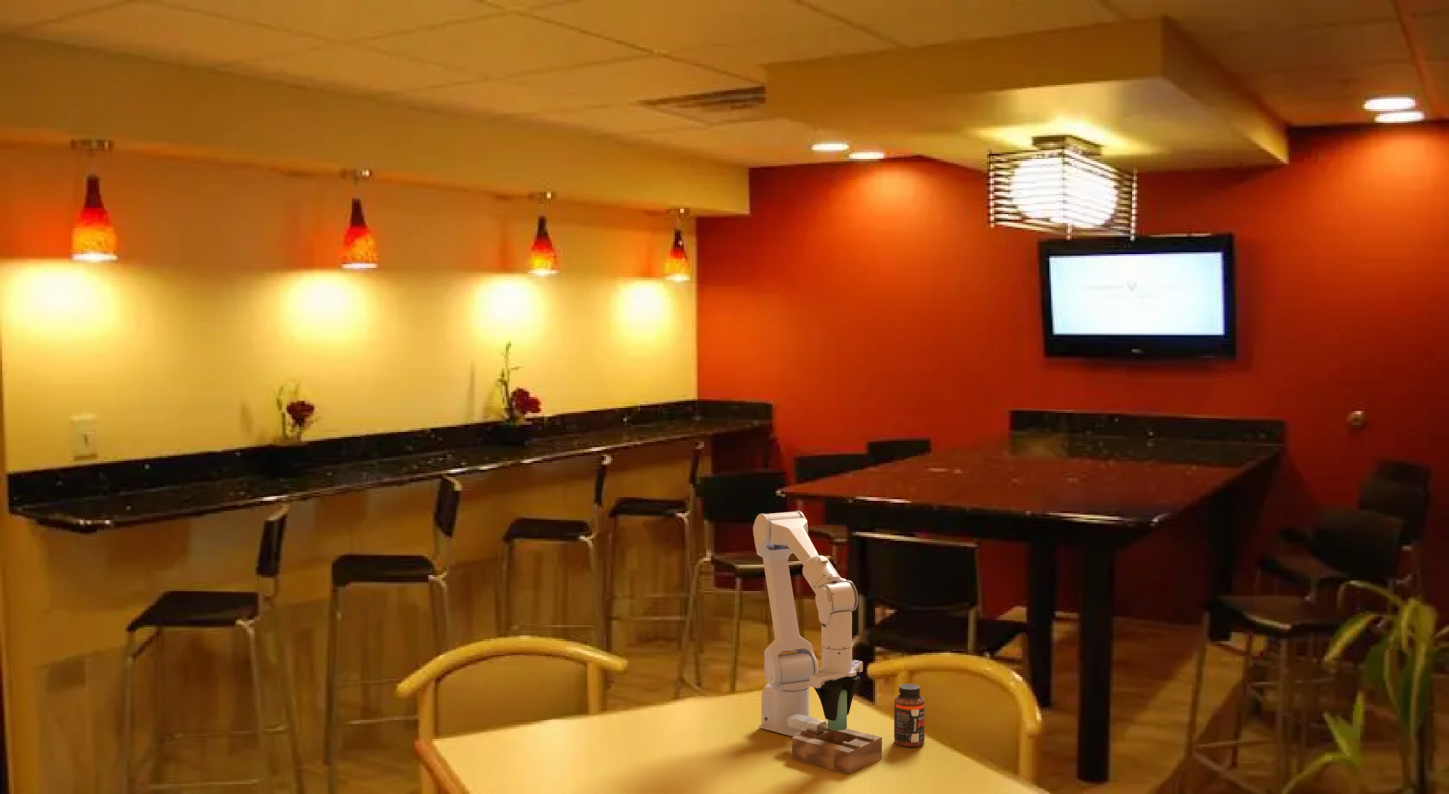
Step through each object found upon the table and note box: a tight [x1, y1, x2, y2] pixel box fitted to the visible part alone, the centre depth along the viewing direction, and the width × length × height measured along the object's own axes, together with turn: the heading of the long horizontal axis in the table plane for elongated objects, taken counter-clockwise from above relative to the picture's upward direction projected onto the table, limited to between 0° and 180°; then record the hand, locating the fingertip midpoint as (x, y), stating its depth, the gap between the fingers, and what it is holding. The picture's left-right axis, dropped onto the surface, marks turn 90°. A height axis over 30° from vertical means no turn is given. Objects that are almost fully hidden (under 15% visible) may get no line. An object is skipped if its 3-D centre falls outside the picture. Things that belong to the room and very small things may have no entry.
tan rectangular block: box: [788, 714, 827, 734], centre depth 241 cm, size 7×3×2 cm, turn 49°
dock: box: [791, 722, 883, 775], centre depth 237 cm, size 13×11×4 cm
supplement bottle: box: [893, 683, 926, 748], centre depth 245 cm, size 6×6×11 cm
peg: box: [827, 689, 848, 731], centre depth 236 cm, size 4×4×7 cm
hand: (836, 716), depth 236 cm, fingers closed on peg, 4 cm apart
